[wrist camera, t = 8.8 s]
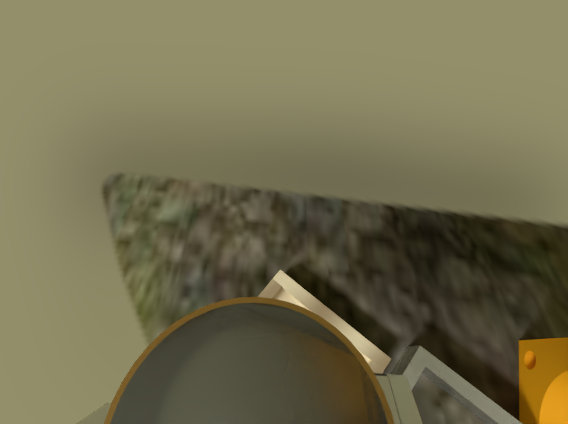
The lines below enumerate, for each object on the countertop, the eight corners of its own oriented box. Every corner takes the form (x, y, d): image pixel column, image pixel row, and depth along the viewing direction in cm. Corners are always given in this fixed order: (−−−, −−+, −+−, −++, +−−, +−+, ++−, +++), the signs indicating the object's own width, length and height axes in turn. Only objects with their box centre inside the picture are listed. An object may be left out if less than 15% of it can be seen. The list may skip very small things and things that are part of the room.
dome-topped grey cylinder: (350, 378, 15) (460, 429, 5) (288, 472, 13) (261, 816, 3) (274, 313, 16) (237, 247, 6) (211, 393, 15) (29, 476, 5)
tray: (384, 358, 26) (391, 358, 24) (302, 487, 23) (302, 500, 21) (281, 275, 29) (280, 269, 27) (197, 378, 26) (188, 380, 24)
